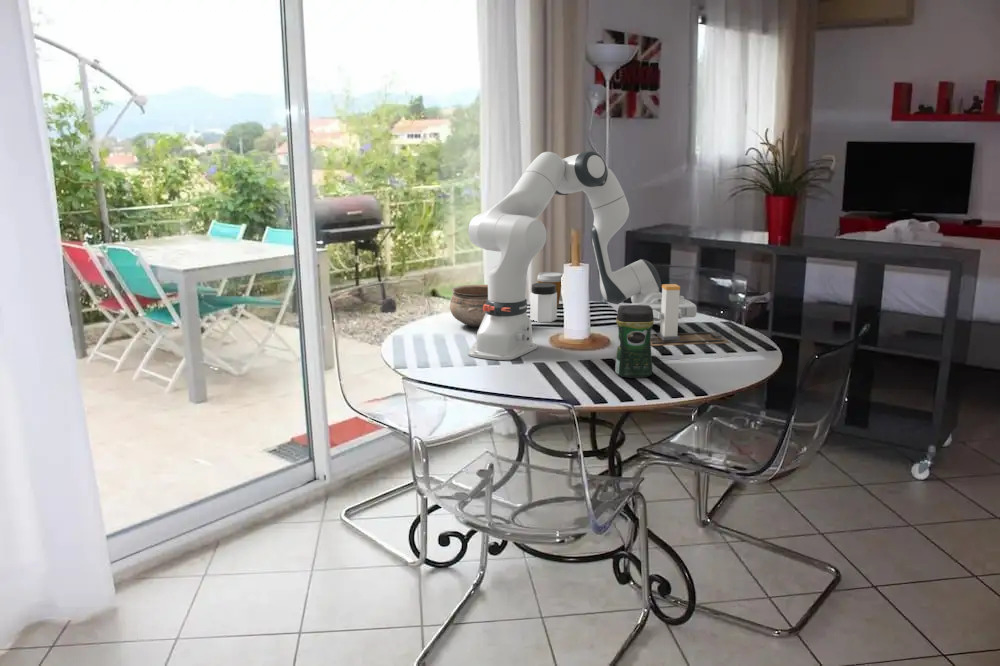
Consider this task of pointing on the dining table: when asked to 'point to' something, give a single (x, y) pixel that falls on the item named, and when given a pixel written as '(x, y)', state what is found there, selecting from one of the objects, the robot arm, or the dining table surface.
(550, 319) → the jar
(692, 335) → the board
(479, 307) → the cooking pot
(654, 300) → the robot arm
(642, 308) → the coffee jar
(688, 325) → the dining table surface
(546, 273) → the disposable coffee cup
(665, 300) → the fader
